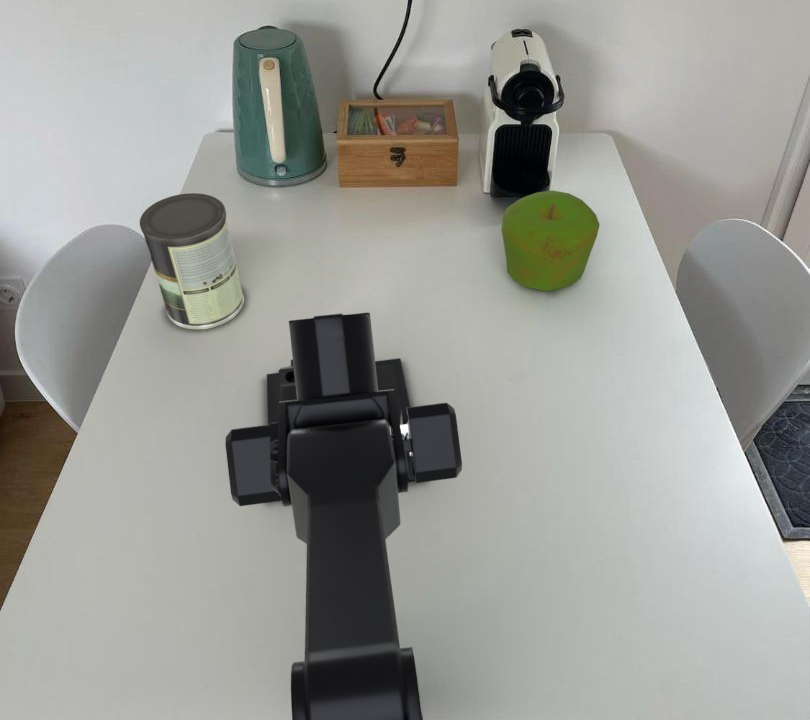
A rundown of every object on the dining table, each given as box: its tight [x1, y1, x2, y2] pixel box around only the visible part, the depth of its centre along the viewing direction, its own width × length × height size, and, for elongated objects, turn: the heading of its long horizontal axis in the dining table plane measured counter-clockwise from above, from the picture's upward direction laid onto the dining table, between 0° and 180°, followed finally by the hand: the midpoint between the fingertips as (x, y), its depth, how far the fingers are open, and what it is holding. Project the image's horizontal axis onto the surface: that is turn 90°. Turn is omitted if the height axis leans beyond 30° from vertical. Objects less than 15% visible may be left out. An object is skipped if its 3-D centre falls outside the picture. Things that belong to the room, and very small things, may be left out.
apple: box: [501, 190, 600, 292], centre depth 106 cm, size 12×12×11 cm
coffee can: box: [139, 192, 245, 331], centre depth 103 cm, size 10×10×14 cm
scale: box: [266, 357, 416, 483], centre depth 90 cm, size 18×16×2 cm
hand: (344, 447), depth 75 cm, fingers open, 9 cm apart
